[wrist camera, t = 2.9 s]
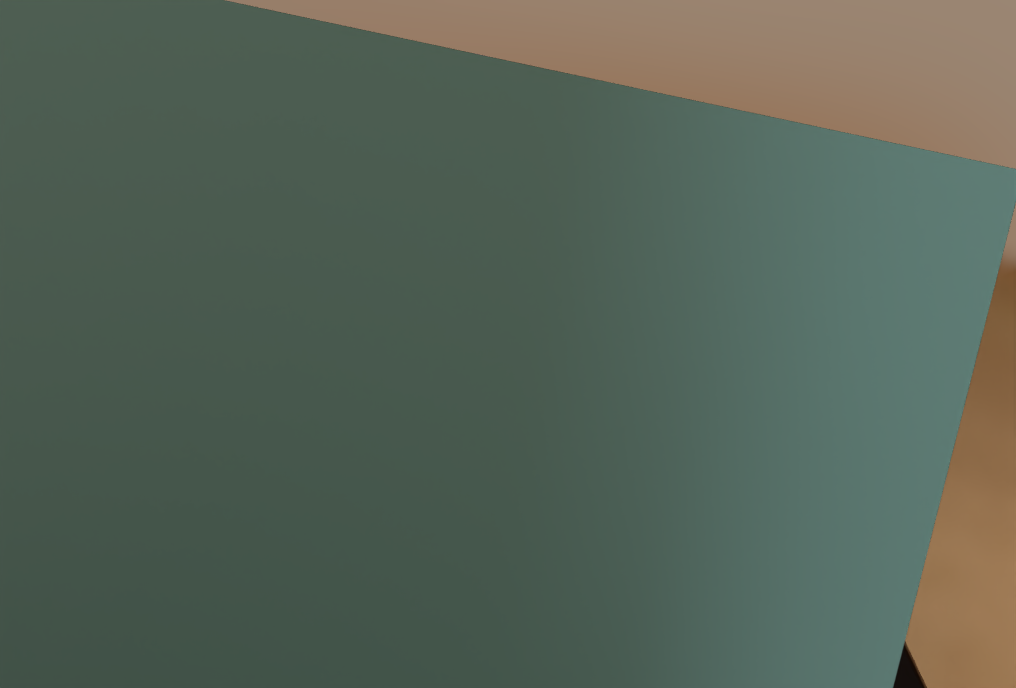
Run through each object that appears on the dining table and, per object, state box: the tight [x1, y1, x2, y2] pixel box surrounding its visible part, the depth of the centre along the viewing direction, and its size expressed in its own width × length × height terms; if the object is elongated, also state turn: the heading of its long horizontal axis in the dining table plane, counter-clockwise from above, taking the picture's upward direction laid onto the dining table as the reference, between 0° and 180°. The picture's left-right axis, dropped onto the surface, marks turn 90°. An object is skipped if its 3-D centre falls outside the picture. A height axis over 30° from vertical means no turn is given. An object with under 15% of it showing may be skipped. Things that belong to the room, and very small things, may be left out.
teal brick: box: [0, 0, 1016, 688], centre depth 9 cm, size 5×5×12 cm
